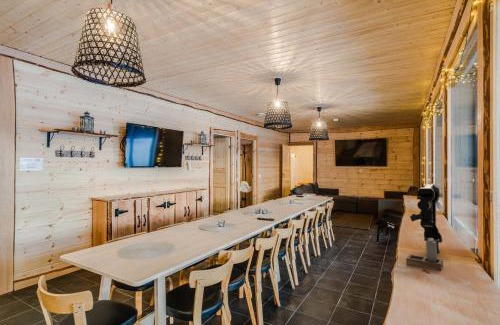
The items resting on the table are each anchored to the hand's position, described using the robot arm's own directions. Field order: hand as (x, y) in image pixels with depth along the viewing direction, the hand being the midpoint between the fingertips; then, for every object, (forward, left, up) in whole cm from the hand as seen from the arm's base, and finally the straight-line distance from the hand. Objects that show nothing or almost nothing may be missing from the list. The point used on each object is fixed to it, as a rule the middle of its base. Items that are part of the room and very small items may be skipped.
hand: (427, 236), depth 156 cm
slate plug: (+13, +3, -12) cm, 18 cm away
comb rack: (+13, 0, -13) cm, 18 cm away
